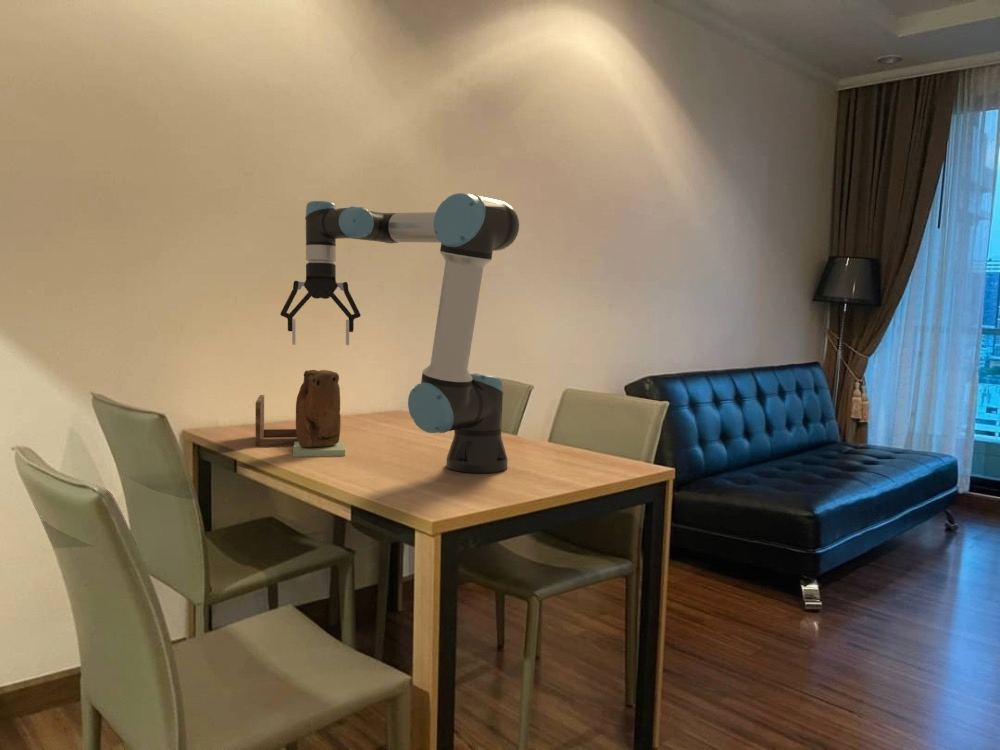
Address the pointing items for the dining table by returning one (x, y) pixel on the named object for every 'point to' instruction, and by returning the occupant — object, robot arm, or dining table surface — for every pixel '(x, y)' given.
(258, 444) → the slot box
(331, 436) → the block
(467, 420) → the robot arm
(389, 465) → the dining table surface
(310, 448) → the pad
